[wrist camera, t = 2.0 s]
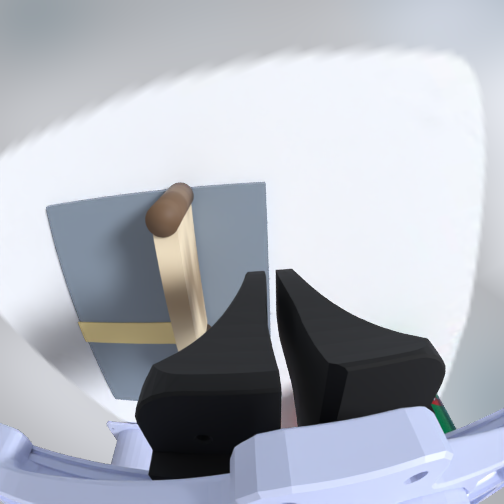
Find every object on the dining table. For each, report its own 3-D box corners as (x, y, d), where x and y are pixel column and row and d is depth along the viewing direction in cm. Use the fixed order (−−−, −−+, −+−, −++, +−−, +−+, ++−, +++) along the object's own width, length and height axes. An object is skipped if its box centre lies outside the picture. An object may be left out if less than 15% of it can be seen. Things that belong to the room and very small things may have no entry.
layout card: (271, 396, 26) (271, 400, 26) (114, 395, 26) (113, 399, 26) (264, 182, 18) (265, 183, 18) (46, 205, 18) (43, 208, 18)
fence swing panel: (210, 322, 21) (204, 368, 17) (187, 322, 21) (178, 368, 17) (192, 181, 17) (177, 202, 13) (165, 183, 17) (142, 205, 13)
